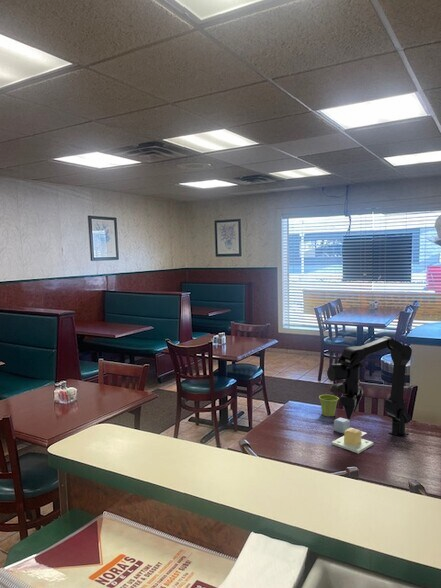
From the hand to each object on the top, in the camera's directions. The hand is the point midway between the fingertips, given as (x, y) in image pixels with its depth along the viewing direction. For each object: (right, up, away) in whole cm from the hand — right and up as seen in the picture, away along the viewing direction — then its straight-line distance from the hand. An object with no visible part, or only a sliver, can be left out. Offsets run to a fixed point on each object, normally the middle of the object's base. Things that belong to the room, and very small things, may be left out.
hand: (351, 415), depth 182 cm
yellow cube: (0, -11, -2) cm, 11 cm away
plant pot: (-1, -9, +33) cm, 34 cm away
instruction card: (+6, -11, +9) cm, 15 cm away
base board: (0, -12, -2) cm, 12 cm away
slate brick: (0, -11, +13) cm, 17 cm away
